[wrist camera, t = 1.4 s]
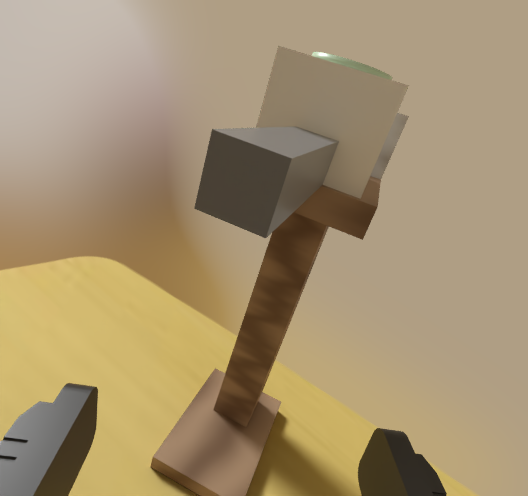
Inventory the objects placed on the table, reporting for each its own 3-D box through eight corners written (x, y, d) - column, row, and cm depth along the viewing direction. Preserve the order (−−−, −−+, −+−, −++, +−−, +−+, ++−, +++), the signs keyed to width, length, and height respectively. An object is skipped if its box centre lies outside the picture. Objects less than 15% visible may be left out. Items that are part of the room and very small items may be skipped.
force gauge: (135, 183, 12) (169, -58, 9) (283, 148, 28) (311, 59, 26) (335, 267, 10) (445, 14, 8) (367, 178, 27) (405, 89, 24)
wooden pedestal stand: (150, 466, 33) (252, 59, 19) (212, 377, 45) (304, 83, 30) (236, 517, 31) (420, 112, 17) (277, 410, 43) (407, 117, 29)
